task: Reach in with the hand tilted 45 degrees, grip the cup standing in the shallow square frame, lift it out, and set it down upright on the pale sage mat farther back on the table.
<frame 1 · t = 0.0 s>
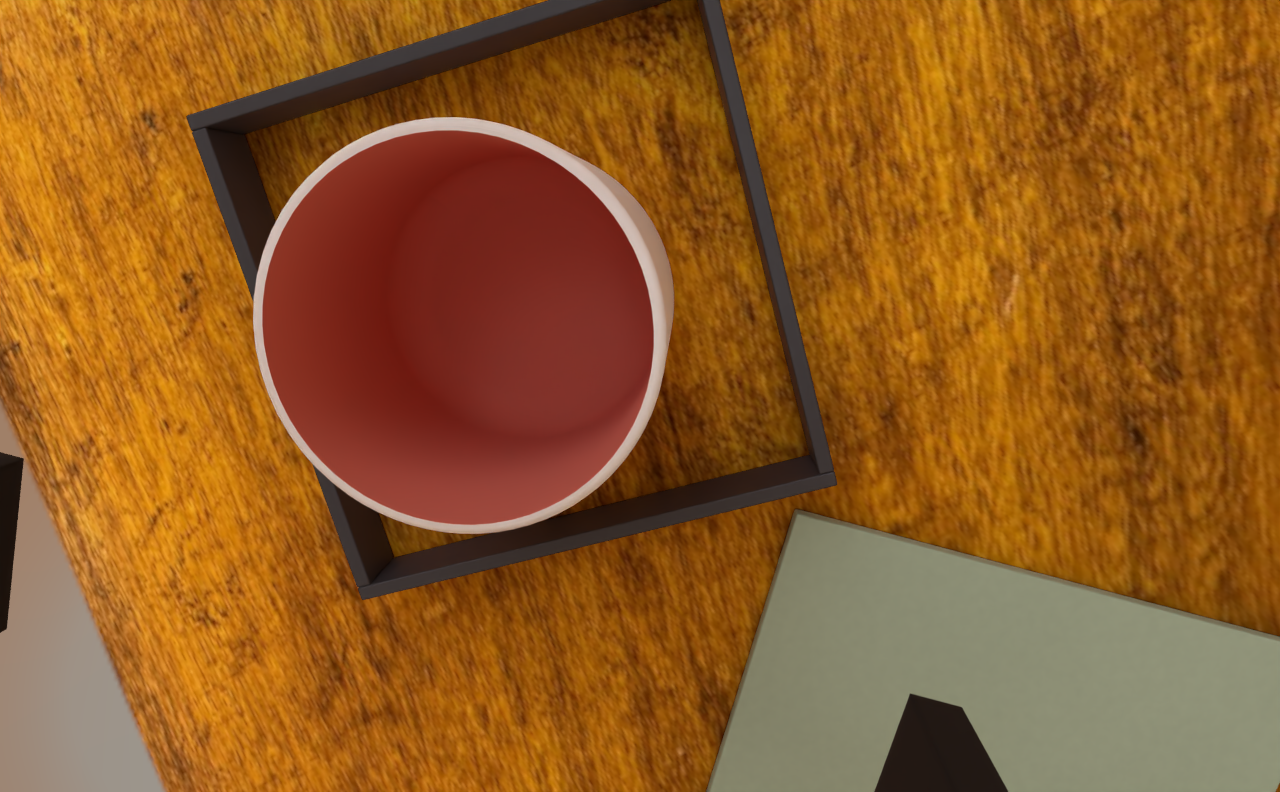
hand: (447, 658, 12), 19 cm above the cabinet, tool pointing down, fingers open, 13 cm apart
cup: (533, 296, 30), resting in square frame
square frame: (532, 297, 30), on the cabinet
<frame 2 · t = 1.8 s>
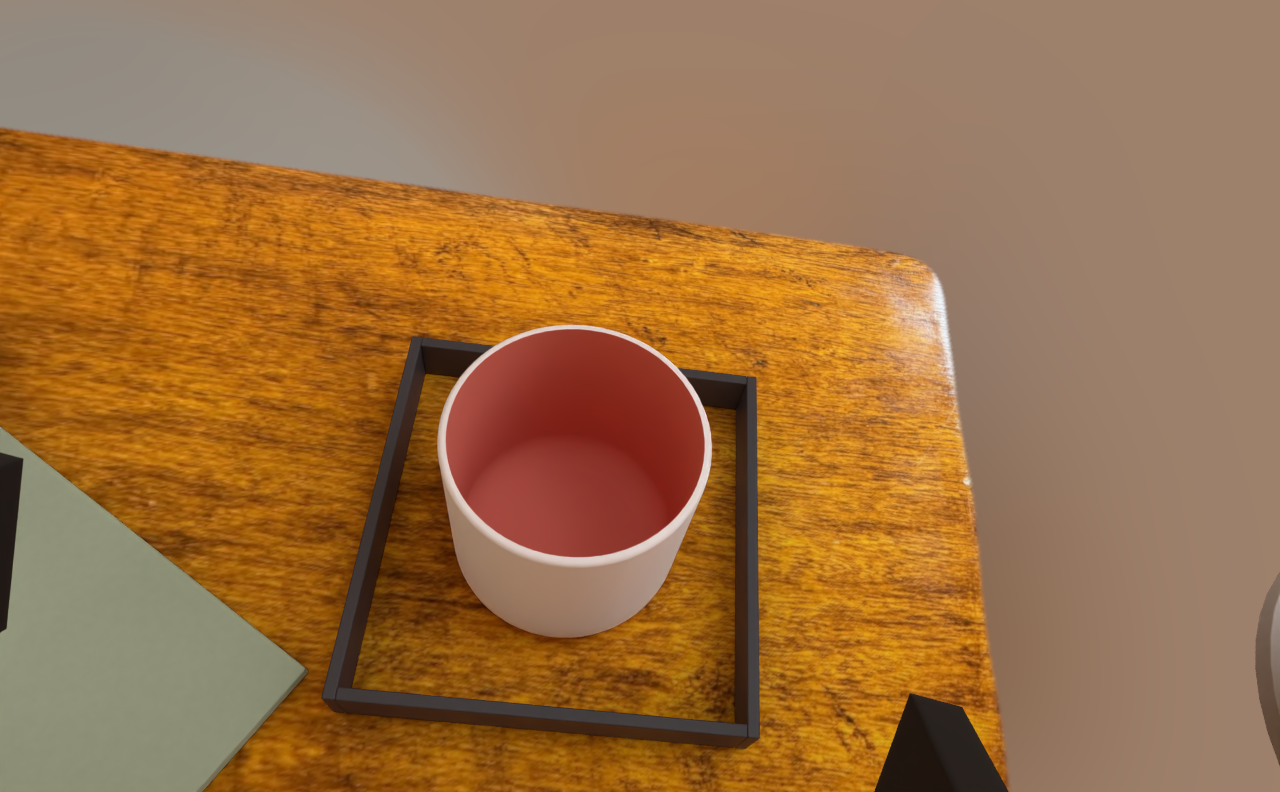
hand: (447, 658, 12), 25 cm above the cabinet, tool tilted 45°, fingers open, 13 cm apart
cup: (565, 539, 40), resting in square frame
square frame: (565, 537, 40), on the cabinet
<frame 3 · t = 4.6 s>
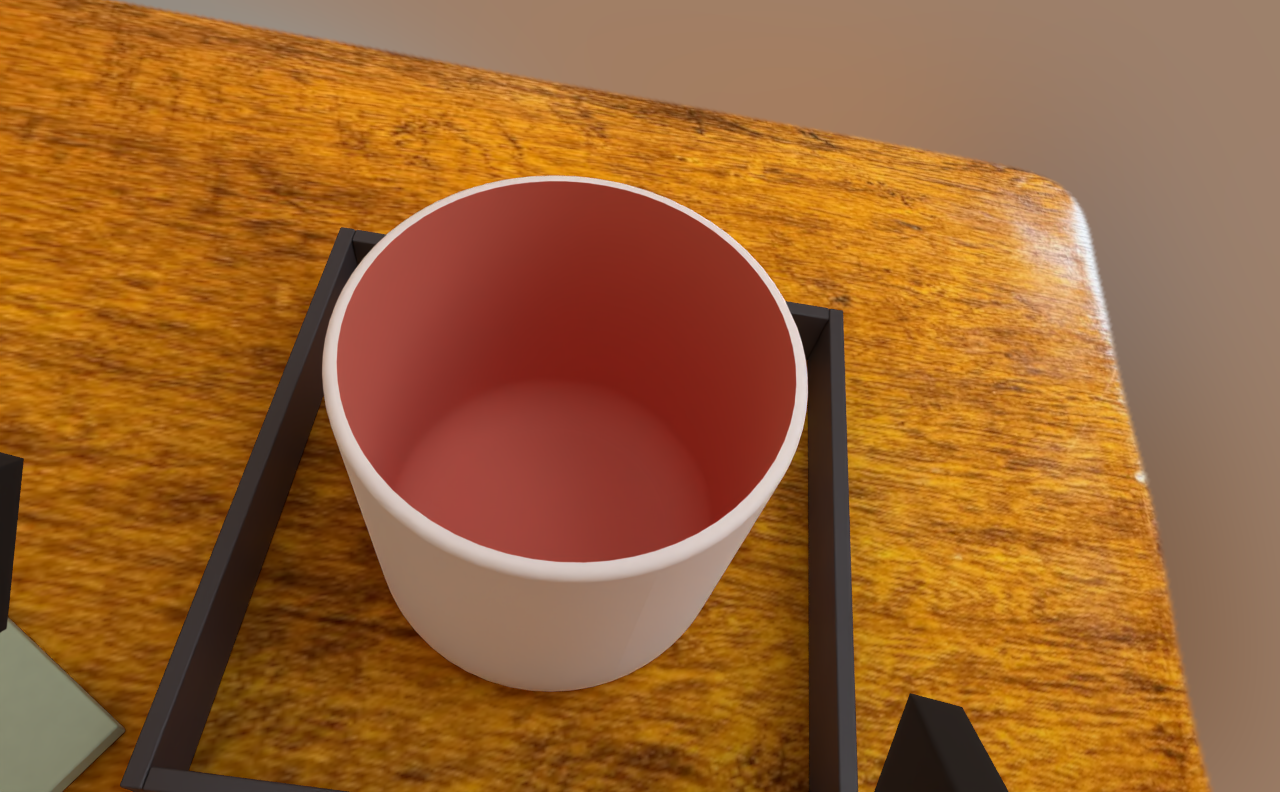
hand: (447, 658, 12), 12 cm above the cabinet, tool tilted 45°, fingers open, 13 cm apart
cup: (552, 535, 26), resting in square frame
square frame: (552, 532, 26), on the cabinet
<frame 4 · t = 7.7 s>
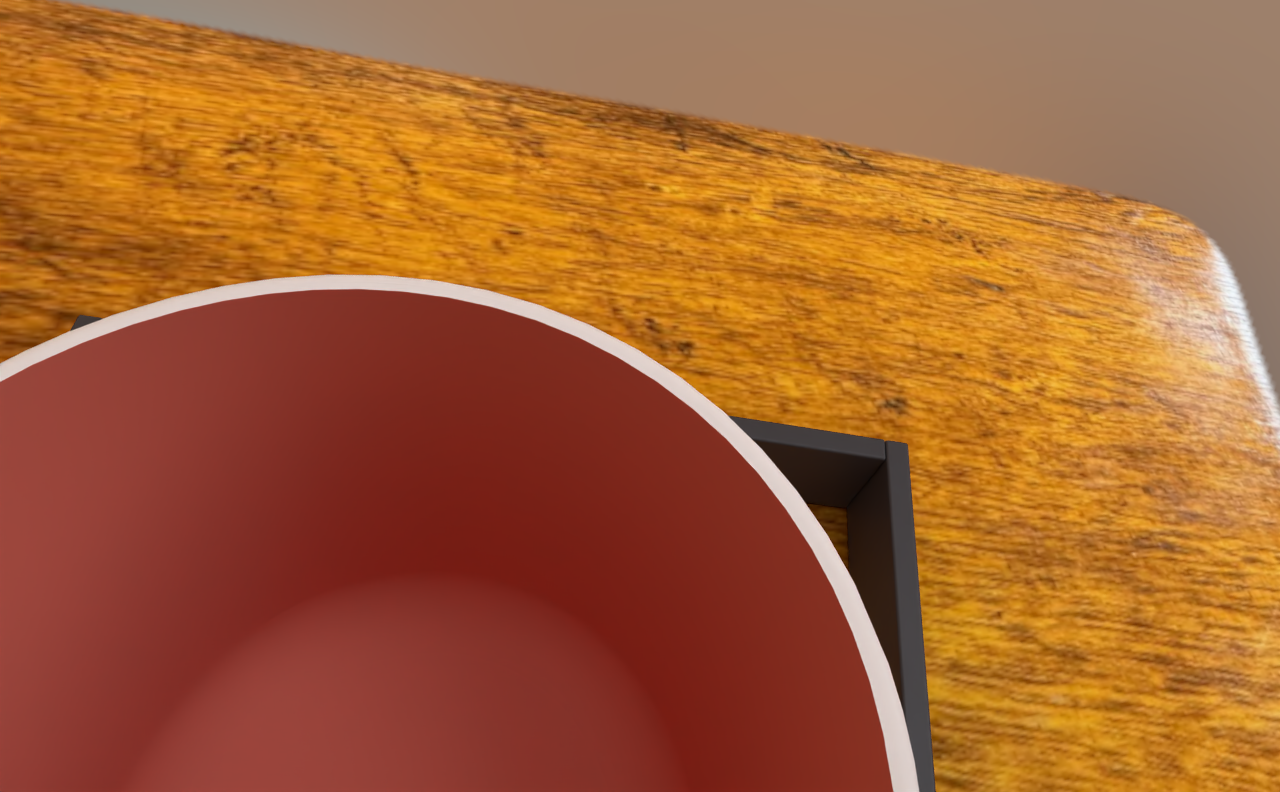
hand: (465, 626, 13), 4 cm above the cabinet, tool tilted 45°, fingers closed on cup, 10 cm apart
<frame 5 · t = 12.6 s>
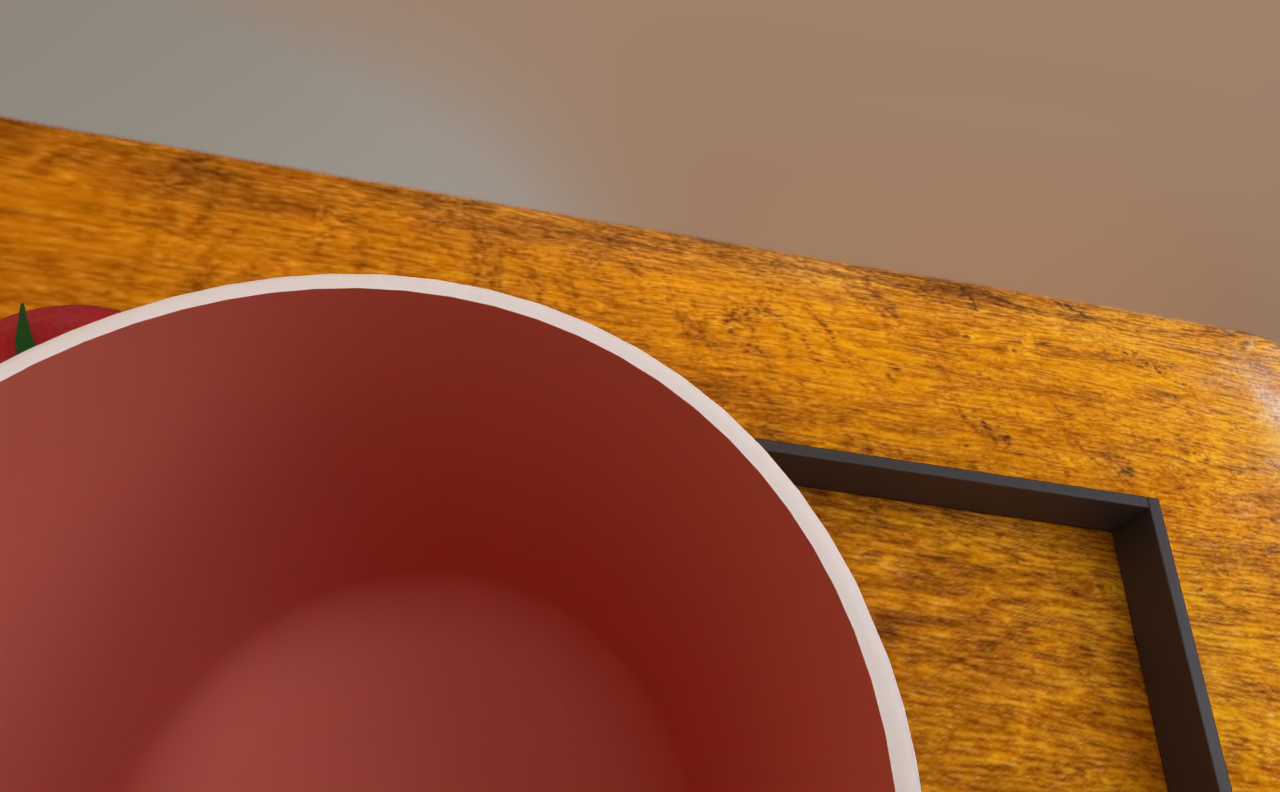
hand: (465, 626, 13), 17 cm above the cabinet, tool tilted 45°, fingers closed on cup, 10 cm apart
tomato: (123, 483, 32), on the cabinet
square frame: (946, 704, 31), on the cabinet
when the fingers open (5 cm above the cabinet, at t = 17.5 s): cup stays where it is, resting on mat.
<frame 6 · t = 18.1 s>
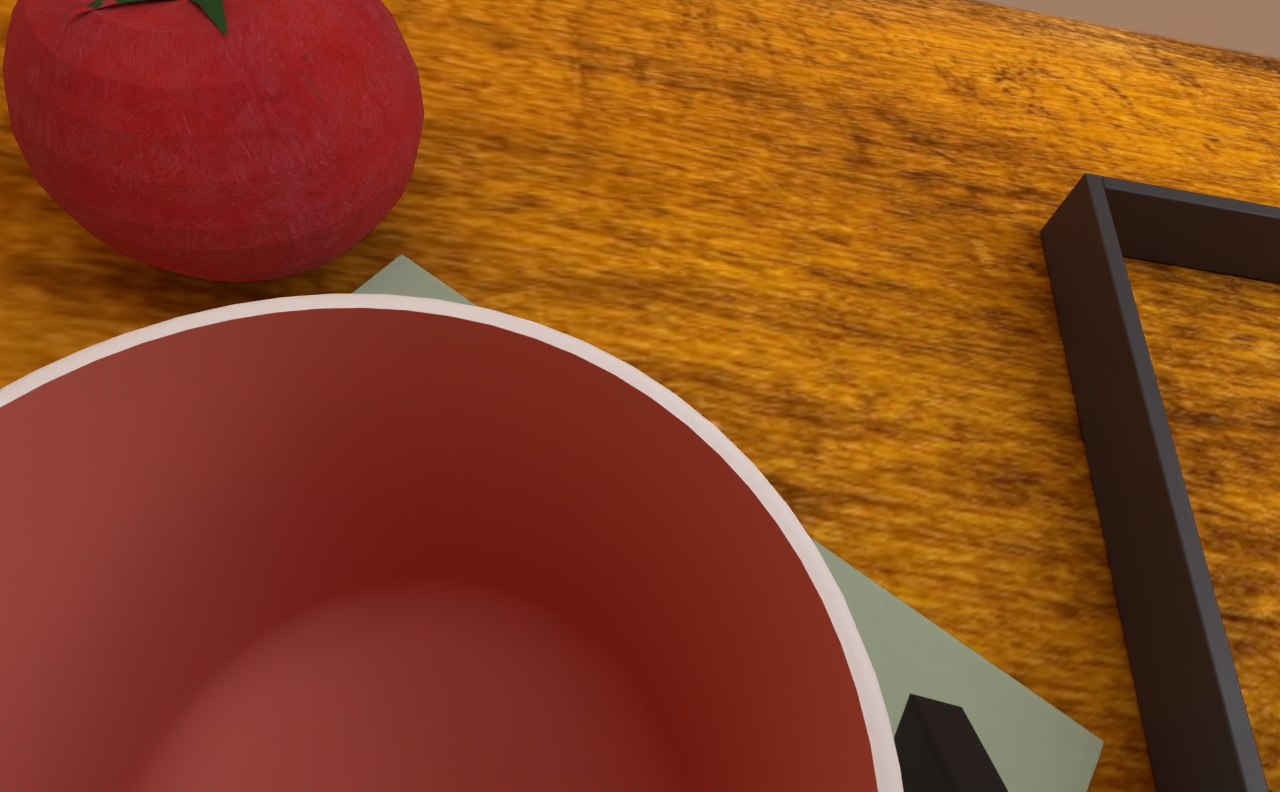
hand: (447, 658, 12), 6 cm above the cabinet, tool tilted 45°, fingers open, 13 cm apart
tomato: (268, 216, 23), on the cabinet
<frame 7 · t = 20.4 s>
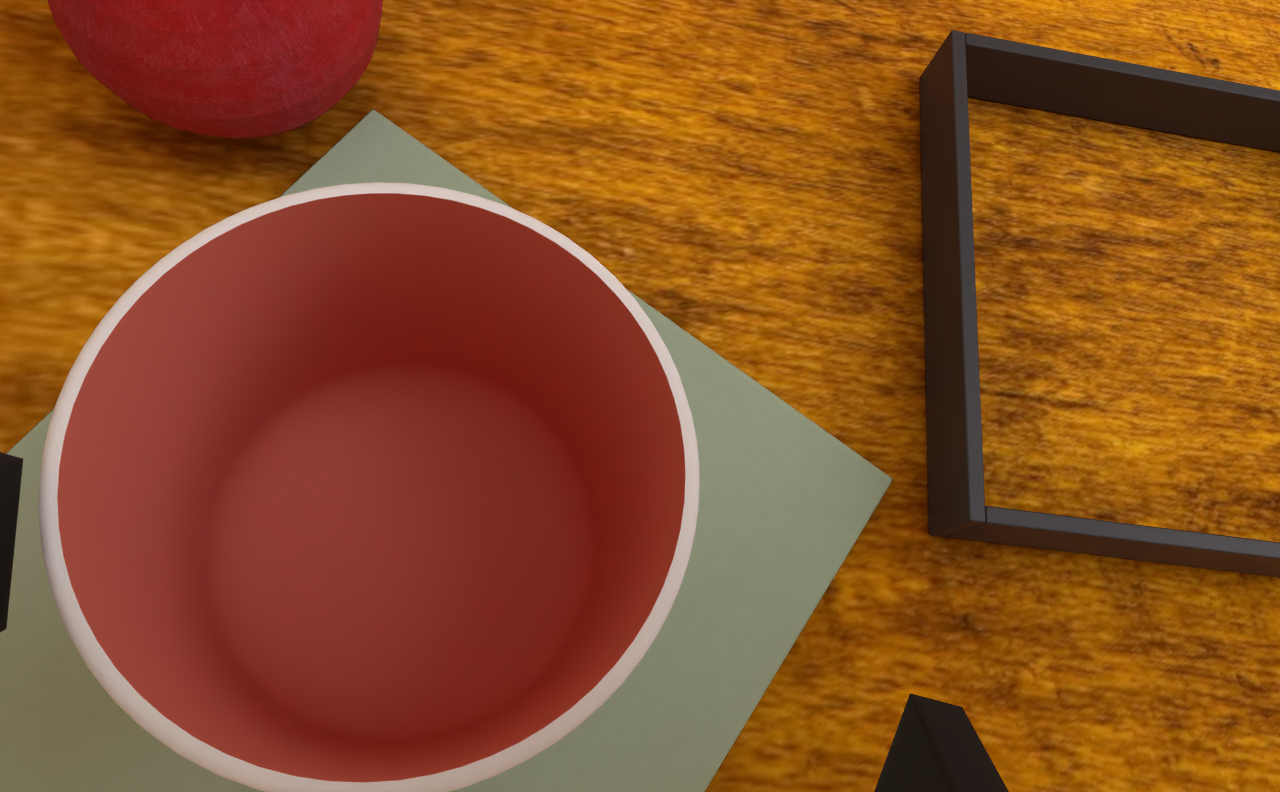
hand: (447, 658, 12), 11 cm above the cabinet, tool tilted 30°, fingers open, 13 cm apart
cup: (412, 548, 23), point 1 cm above the cabinet, touching mat
tomato: (259, 73, 28), on the cabinet
mat: (415, 551, 24), on the cabinet
square frame: (1156, 319, 30), on the cabinet
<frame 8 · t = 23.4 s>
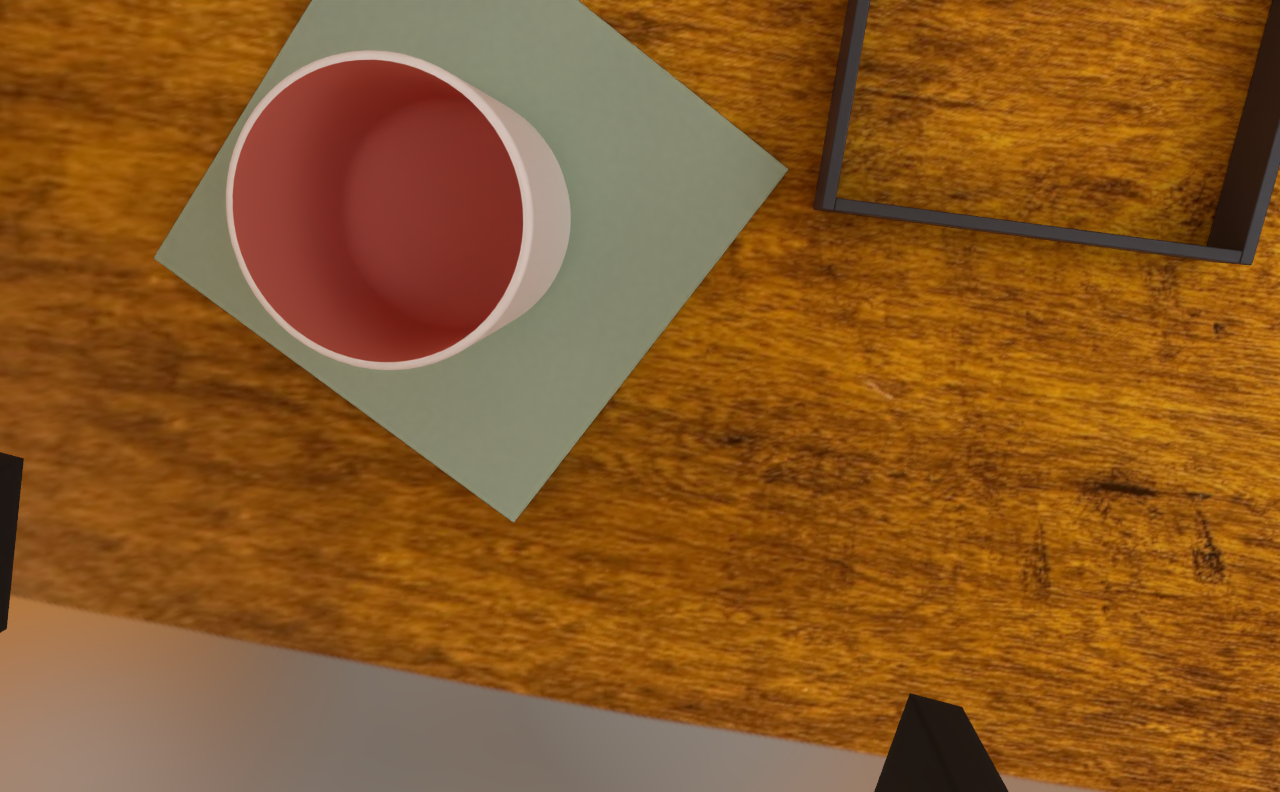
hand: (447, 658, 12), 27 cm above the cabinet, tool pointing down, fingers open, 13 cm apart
cup: (461, 215, 37), resting on mat
mat: (464, 215, 37), on the cabinet
square frame: (1058, 23, 34), on the cabinet
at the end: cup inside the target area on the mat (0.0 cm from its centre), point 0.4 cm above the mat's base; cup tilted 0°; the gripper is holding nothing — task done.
